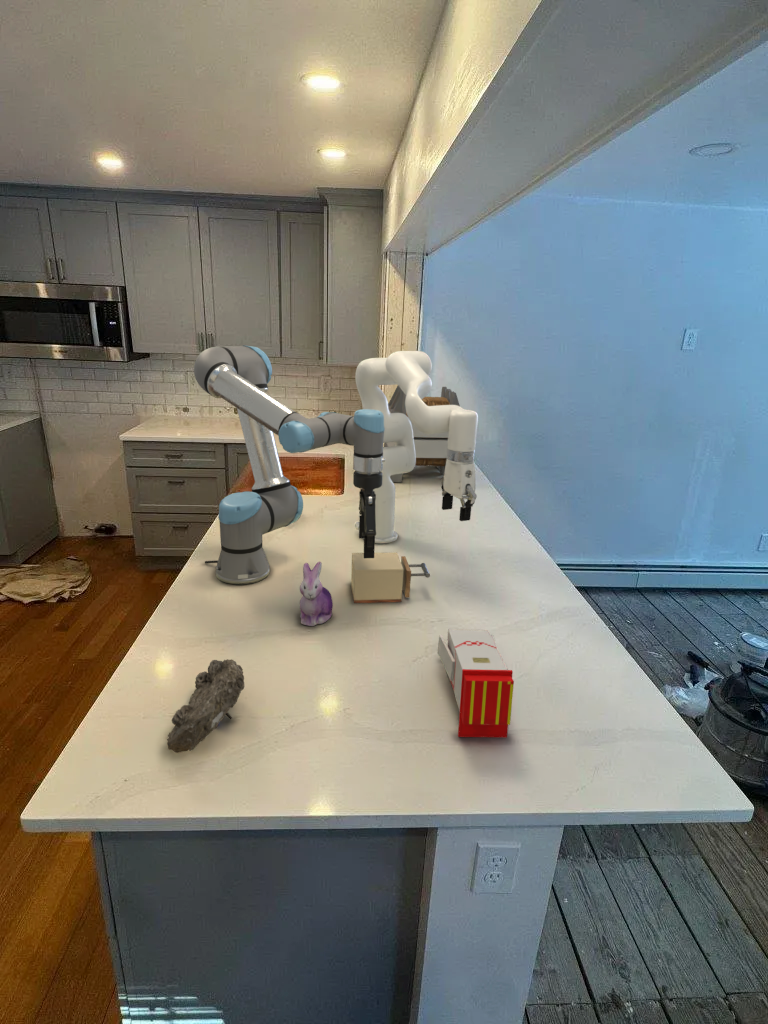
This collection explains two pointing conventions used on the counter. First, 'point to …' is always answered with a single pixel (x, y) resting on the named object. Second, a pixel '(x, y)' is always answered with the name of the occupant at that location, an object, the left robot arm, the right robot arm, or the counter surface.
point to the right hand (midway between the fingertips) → (455, 514)
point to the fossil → (206, 705)
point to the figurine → (314, 598)
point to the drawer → (408, 574)
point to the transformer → (426, 445)
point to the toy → (478, 682)
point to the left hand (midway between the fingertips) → (366, 547)
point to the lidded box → (376, 578)
